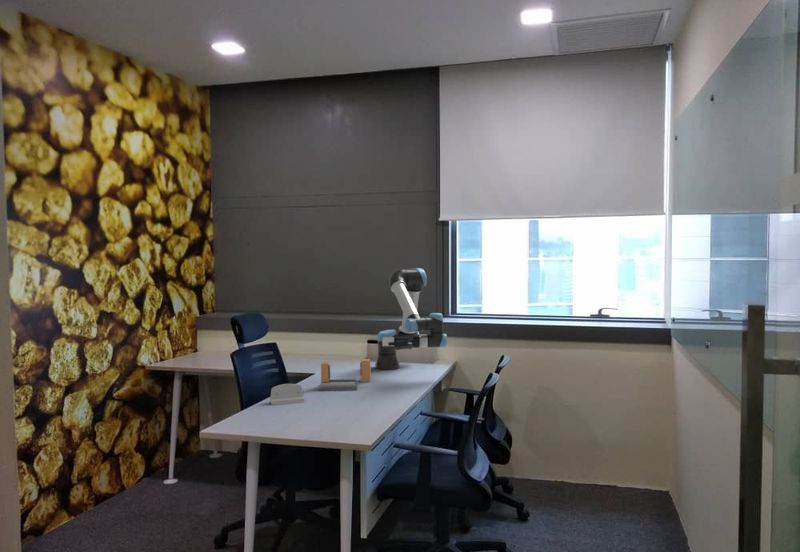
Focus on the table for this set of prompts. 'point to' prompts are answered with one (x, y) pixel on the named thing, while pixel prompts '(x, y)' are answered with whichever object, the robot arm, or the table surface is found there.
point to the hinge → (286, 394)
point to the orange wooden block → (365, 370)
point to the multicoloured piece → (334, 381)
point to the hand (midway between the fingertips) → (382, 341)
